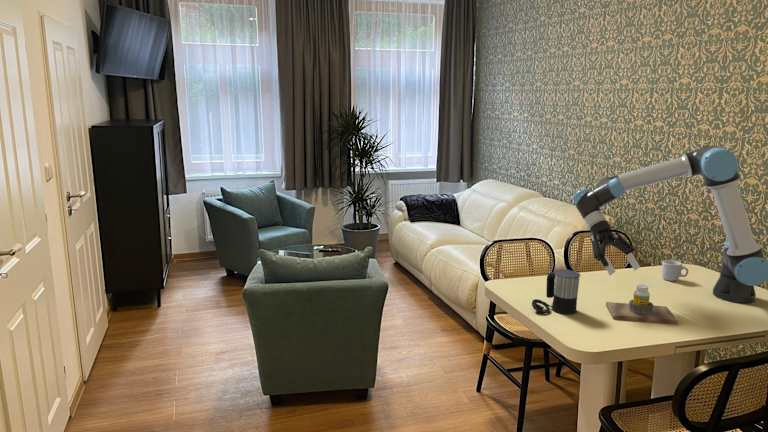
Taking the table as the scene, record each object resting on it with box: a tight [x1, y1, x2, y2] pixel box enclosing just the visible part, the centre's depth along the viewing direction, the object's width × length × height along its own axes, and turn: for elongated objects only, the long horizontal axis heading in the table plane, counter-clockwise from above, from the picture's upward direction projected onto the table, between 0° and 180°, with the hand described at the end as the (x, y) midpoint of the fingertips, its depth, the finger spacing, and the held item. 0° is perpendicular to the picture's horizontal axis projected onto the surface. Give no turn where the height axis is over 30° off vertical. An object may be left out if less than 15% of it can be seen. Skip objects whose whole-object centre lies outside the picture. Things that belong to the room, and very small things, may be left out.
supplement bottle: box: [632, 284, 651, 306], centre depth 217 cm, size 5×5×10 cm
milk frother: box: [531, 269, 581, 315], centre depth 219 cm, size 14×16×15 cm
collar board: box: [605, 299, 679, 325], centre depth 218 cm, size 22×14×4 cm, turn 80°
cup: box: [661, 259, 689, 282], centre depth 259 cm, size 11×8×8 cm
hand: (625, 271), depth 222 cm, fingers open, 13 cm apart
